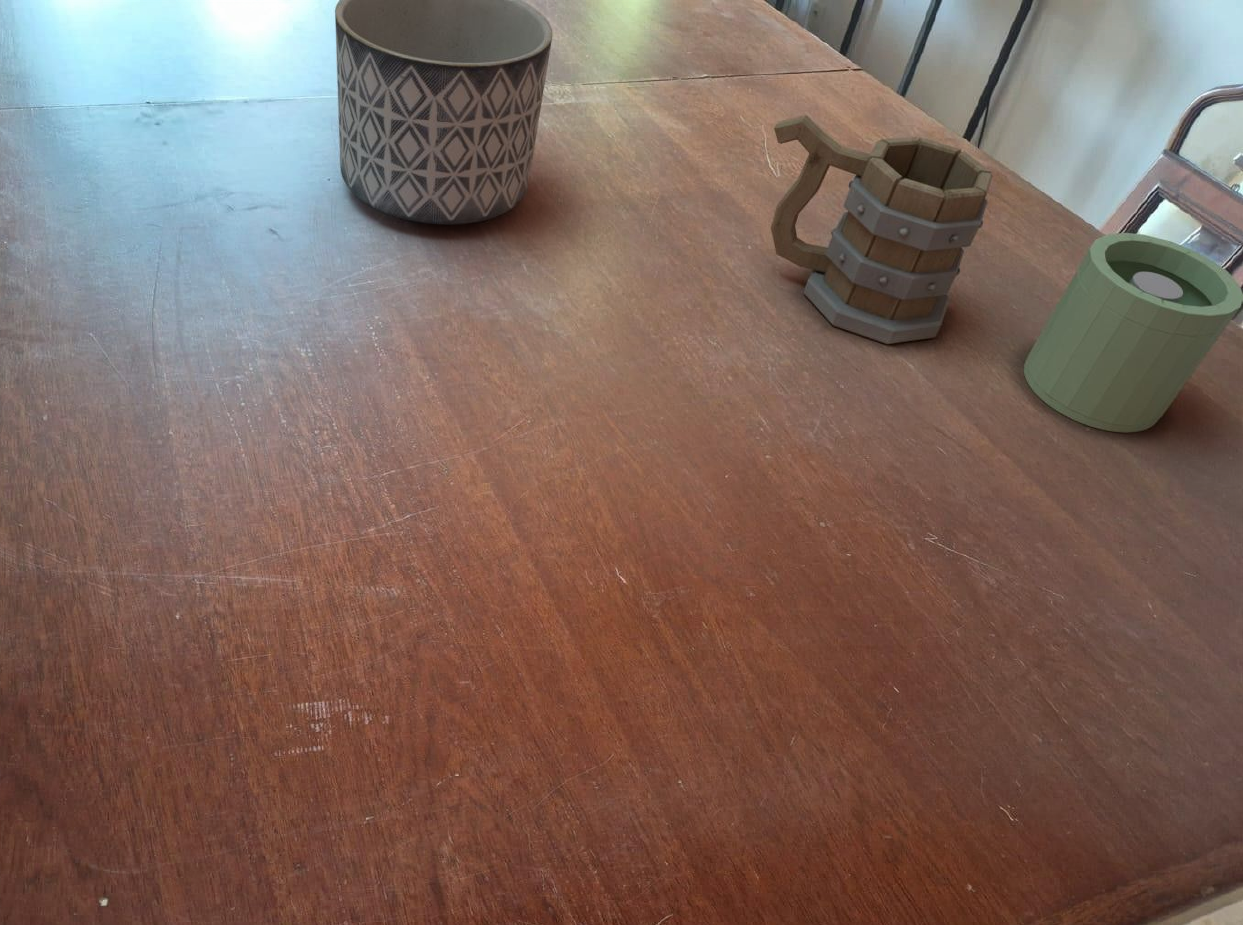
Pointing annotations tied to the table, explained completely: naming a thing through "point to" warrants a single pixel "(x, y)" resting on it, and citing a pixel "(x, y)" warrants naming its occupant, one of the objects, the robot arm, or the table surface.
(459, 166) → the planter
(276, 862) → the table surface
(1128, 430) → the jar
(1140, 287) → the salt shaker
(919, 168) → the tankard
